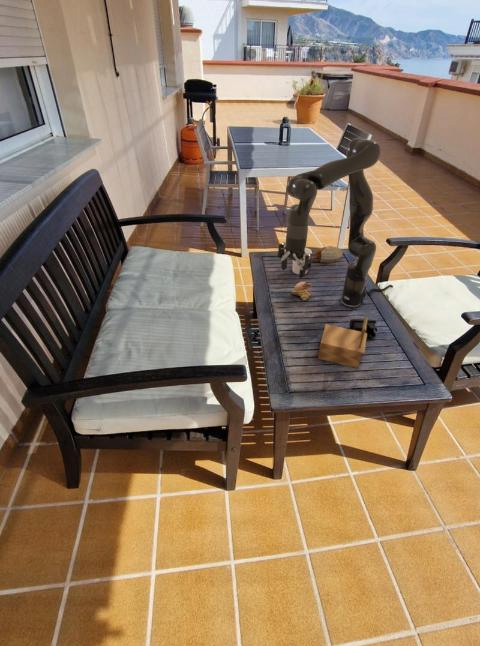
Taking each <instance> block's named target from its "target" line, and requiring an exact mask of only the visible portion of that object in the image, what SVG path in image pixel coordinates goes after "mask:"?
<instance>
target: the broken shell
mask: <svg viewBox="0 0 480 646" xmlns="http://www.w3.org/2000/svg"><path fill="white" fill-rule="evenodd" d="M312 286H313V283H311V282H310V283H307V282H306V281H299V282H298V283H296V284H295V285H294V289H293V290H291V291H290V293H291V294H292V295H294V296H299V297H300V299H301V300H302V301H307V300H309V298H310V297H311V296H312V295H311V293H312V291H313V290H312V289H310V290H309V291H308V289H309V288H310V287H312Z"/></svg>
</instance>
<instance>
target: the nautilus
mask: <svg viewBox="0 0 480 646" xmlns="http://www.w3.org/2000/svg"><path fill="white" fill-rule="evenodd" d="M310 250H311V251H312V253H313V255H312V260H313V263H314V262H320V263H324V264H325V263H328V264H329V263H335V262H336V261H338V260H340V259H341V258H342V257H343V255H344V253H343V251H342V250H341V248H339V247H337V246H332V245H331V246H330V245H328V246H323V247H321V248H318V249H314V250H313V249H310Z"/></svg>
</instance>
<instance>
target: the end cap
mask: <svg viewBox="0 0 480 646" xmlns="http://www.w3.org/2000/svg"><path fill="white" fill-rule="evenodd" d="M363 321H364V318H363V319H362V318H361V319H360V318H351V319H350V320H349V329H351V330H355V331H360V332H362V328H363ZM376 323H377V320H376V319H370V318H368V321H367V328H366V332H365V333H367V338H366V340H375V337H376V335H377V333H376V332H378V328H377V326H376Z"/></svg>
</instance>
